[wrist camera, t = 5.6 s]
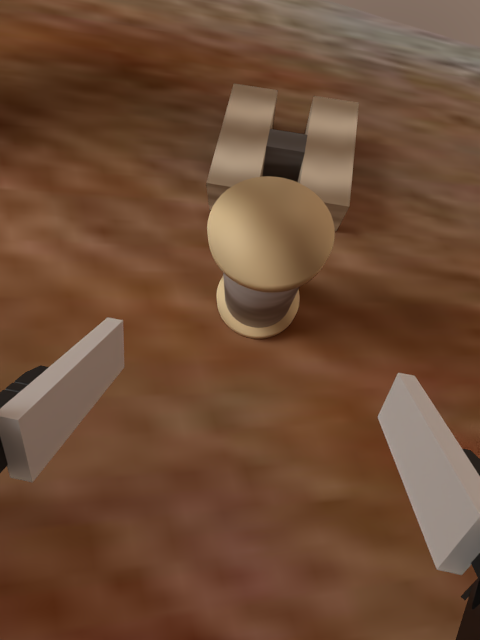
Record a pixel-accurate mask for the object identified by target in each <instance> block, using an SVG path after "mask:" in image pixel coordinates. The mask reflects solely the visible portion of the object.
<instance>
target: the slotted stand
mask: <svg viewBox="0 0 480 640" xmlns="http://www.w3.org/2000/svg"><path fill="white" fill-rule="evenodd" d="M277 94H278V90H273V89H266V88H259V87H253V86H246V85H240V84H234V85H233V88H232V92H231V95H230V99H229V103H228V106H227V110H226V113H225V117H224V121H223V124H222V128H221V132H220V135H219V139H218V142H217V146H216V150H215V153H214V157H213V161H212V164H211V168H210V171H209V175H208V179H207V182H206V184H207V193H208V202H209V210H211V209H212V207H213V205H214V204H215V202H216V201H217V199H218V198H219V197H220V196H221V195H222V194H223V193H224V192H225V191H226V190H228V189H229V188H230V187H232V186H234V185H235V184H237V183H239V182H242V181H244V180H247V179H251V178H256V177H263V176H271V177H281V178H286V179H289V180H293V181H297V182H298V183H300V184H302V185H304V186H306V187H307V188H309V189H310V190H312V191H313V192H314V193H315V194H316V195H318V196H319V197H320V199H321V200H322V201H323V202H324V203H325V205H326V206H327V208H328V210H329V212H330V214H331V216H332V219H333V223H334V228H335V231H337V229H338V227H339V225H340V223H341V222H342V220H343V218H344V216H345V214H346V212H347V210H348V208H349V206H350V195H351V184H352V173H353V162H354V151H355V140H356V129H357V118H358V107H359V103H358V102H351V101H345V100H338V99H331V98H325V97H318V96H314V97H313V101H312V105H311V109H310V113H309V117H308V121H307V125H306V130H305V134H299V133H293V132H287V131H281V130H274V129H273V124H274V116H275V109H276V101H277Z"/></svg>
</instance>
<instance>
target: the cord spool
mask: <svg viewBox="0 0 480 640" xmlns="http://www.w3.org/2000/svg"><path fill="white" fill-rule="evenodd" d="M207 232H208V241H209V247H210V251H211V254H212V257H213V259H214V260H215V262H216V264H217V265H218V267H219V268H220V269H221V271H222V272H223V277H222V279H221V280H220V283H219V285H218V289H217V306H218V310H219V313H220V316H221V318H222V319H223V321H224V322H225V324H226V325H227V326H228V327H229V328H230V329H232V330H233V331H234V332H236V333H237V334H240V335H242V336H244V337H247V338H253V339H264V338H269V337H272V336H275V335H277V334H279V333H281V332H282V331H284V330H285V329H286V328H287V327H288V326H289V325H290V323H291V322H292V320H293V319H294V317H295V315H296V313H297V311H298V307H299V301H300V296H299V290H298V289H299V287H300V286H302V285H304V284H305V283H307V282H308V281H310V280H311V279H312V278H314V277H315V276H316V275H317V274H318V272H319V271H320V270H321V269H322V267H323V266H324V264H325V262H326V261H327V259H328V257H329V255H330V253H331V251H332V248H333V244H334V238H335V228H334V223H333V219H332V216H331V214H330V212H329V210H328V208H327V206H326V205H325V203H324V202H323V201H322V200H321V199H320V197H319V196H318V195H316V194H315V193H314V192H313V191H312V190H310V189H309V188H307V187H306V186H304V185H302V184H300V183H298V182H295V181H293V180H289V179H286V178H281V177H271V176H266V177H256V178H251V179H247V180H244V181H242V182H239V183H237V184H235V185H234V186H232V187H230V188H229V189H228V190H226V191H225V192H224V193H223V194H222V195H221V196H220V197H219V198H218V199H217V201H216V202H215V204H214V205H213V207H212V209H211V212H210V215H209V218H208V225H207Z"/></svg>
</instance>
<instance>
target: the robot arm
mask: <svg viewBox="0 0 480 640" xmlns="http://www.w3.org/2000/svg"><path fill="white" fill-rule="evenodd" d="M123 368H124V338H123V320H118V319H113V318H106V319H105V320H104V321H103V322H102V323H101V324H99V325H98V326H97V327H96V328H95V329H93V330H92V331H91V332H90V333H89V334H88V335H86V336H85V337H84V338H83V339H82V340H80V341H79V342H78V343H77V344H76V345H75V346H73V347H72V348H71V349H70V350H69V351H68V352H66V353H65V354H64V355H63V356H62V357H60V358H59V359H58V360H57V361H56V362H55V363H53V364H52V365H51V366H50V367H45V366H39V367H36V368H34V369H32V370H30V371H28V372H26V373H24V374H23V375H22V376H21V377H19V378H18V379H17V380H15V382H14V383H12V384H10V385H9V386H8V387H7V388H6V390H3V391H2V392H0V473H1V472H2V470H3V469H4V468H5V467H6V466H7V467H8V471H9V474H10V478H15V479H20V480H24V481H29V482H33V481H34V480H35V479H36V477H37V476H38V475H39V474H40V472H41V471H42V470H43V469H44V467H45V466H46V465H47V464H48V462H49V461H50V460H51V459H52V457H53V456H54V455H55V454H56V452H57V451H58V450H59V449H60V447H61V446H62V445H63V444H64V442H65V441H66V440H67V438H68V437H69V436H70V435H71V433H72V432H73V431H74V430H75V428H76V427H77V426H78V425H79V423H80V422H81V421H82V420H83V418H84V417H85V416H86V415H87V413H88V412H89V411H90V410H91V408H92V407H93V406H94V405H95V403H96V402H97V401H98V400H99V398H100V397H101V396H102V395H103V393H104V392H105V391H106V390H107V388H108V387H109V386H110V385H111V383H112V382H113V381H114V380H115V378H116V377H117V376H118V374H119V373H120V372H121V371H122V369H123ZM378 420H379V422H380V425H381V427H382V430H383V432H384V435H385V438H386V440H387V443H388V445H389V448H390V450H391V453H392V456H393V458H394V461H395V463H396V466H397V468H398V471H399V474H400V476H401V479H402V481H403V484H404V487H405V489H406V492H407V494H408V497H409V499H410V502H411V505H412V507H413V510H414V512H415V515H416V517H417V520H418V523H419V525H420V528H421V530H422V533H423V535H424V538H425V541H426V543H427V546H428V548H429V551H430V554H431V556H432V559H433V561H434V564H435V566H436V569H437V570H441V571H446V572H450V573H455V574H460V575H462V574H463V573H464V572H465V571H466V570H467V569H468V567H469V566H470V565H471V564H472V566H473V568H474V570H475V572H476V574H477V577H478V579H477V580H476V581H475V582H474V583H473V584H472V585H471V586H470V587H469V588H468V589H467V590H466V591H465V592H464V594H463V595H462V596H461V597H462V598H463V599H464V600H466V599H467V598H468V597H469V598H468V601H467V605H466V608H465V611H464V614H463V618H462V621H461V624H460V627H459V631H458V634H457V637H456V640H480V459H479V458H478V457H477V456H476V455H475V454H474V453H473V452H472V451H471V450H467V449H462V448H461V447H460V445H459V443H458V442H457V440H456V439H455V437H454V436H453V434H452V433H451V431H450V429H449V428H448V426H447V425H446V423H445V422H444V420H443V419H442V417H441V416H440V414H439V412H438V411H437V409H436V408H435V406H434V405H433V403H432V402H431V400H430V399H429V397H428V395H427V394H426V392H425V391H424V389H423V388H422V386H421V385H420V383H419V382H418V380H417V378H416V377H415V376H413V375H408V374H402V373H398V374H397V376H396V378H395V380H394V383H393V385H392V387H391V389H390V391H389V393H388V396H387V398H386V400H385V402H384V404H383V406H382V409H381V411H380V413H379V415H378Z"/></svg>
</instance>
